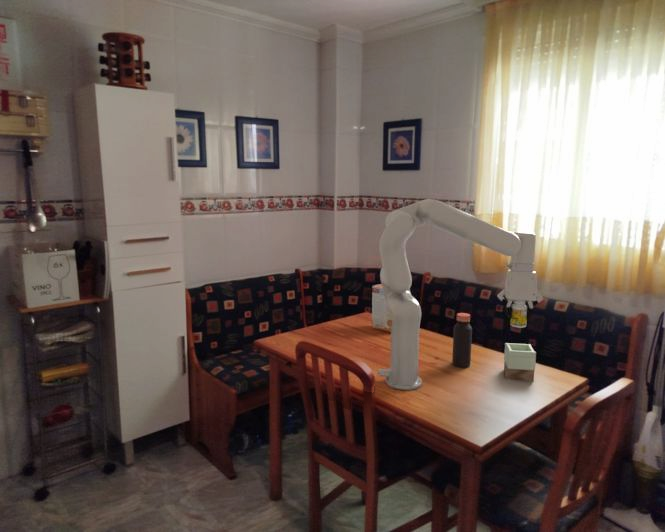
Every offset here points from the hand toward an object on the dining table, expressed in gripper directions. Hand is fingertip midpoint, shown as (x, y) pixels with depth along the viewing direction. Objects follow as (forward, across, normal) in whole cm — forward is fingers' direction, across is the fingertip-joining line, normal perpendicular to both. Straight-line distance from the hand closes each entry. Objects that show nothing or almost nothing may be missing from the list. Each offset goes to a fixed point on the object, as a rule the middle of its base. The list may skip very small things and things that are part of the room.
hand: (518, 317), depth 171 cm
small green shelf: (+19, +2, +3) cm, 19 cm away
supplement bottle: (+3, 0, 0) cm, 3 cm away
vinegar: (+23, -19, +9) cm, 31 cm away
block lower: (+23, +2, +3) cm, 23 cm away
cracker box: (+23, -53, +45) cm, 73 cm away
